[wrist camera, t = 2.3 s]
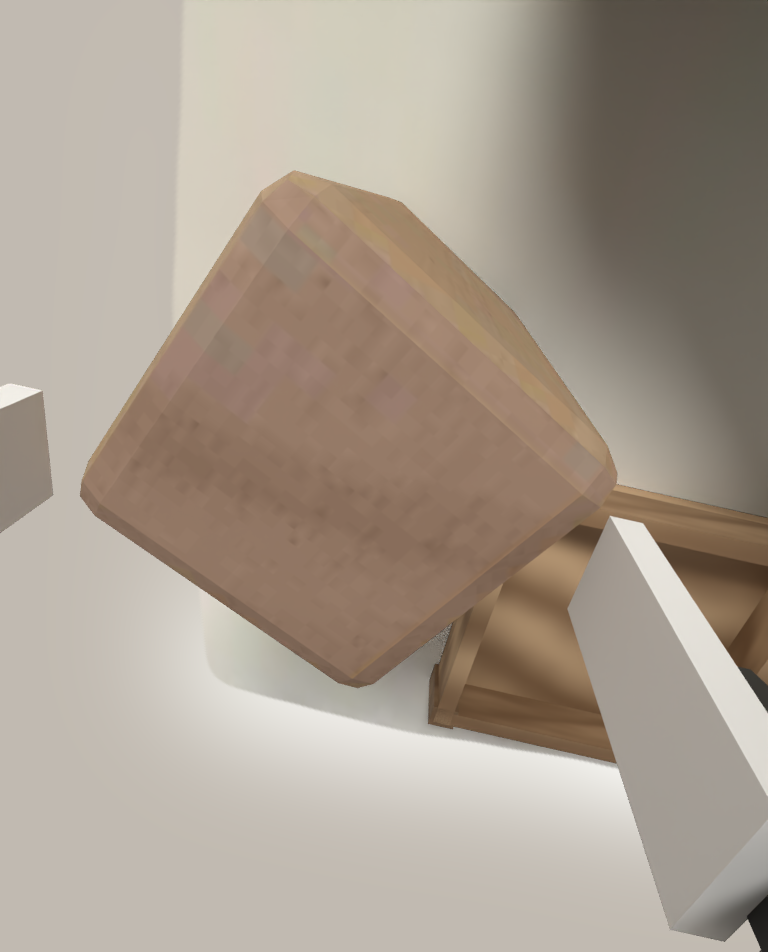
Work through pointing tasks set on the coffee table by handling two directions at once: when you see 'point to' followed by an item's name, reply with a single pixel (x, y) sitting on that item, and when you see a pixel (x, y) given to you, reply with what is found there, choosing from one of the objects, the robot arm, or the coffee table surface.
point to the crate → (553, 637)
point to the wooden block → (347, 434)
